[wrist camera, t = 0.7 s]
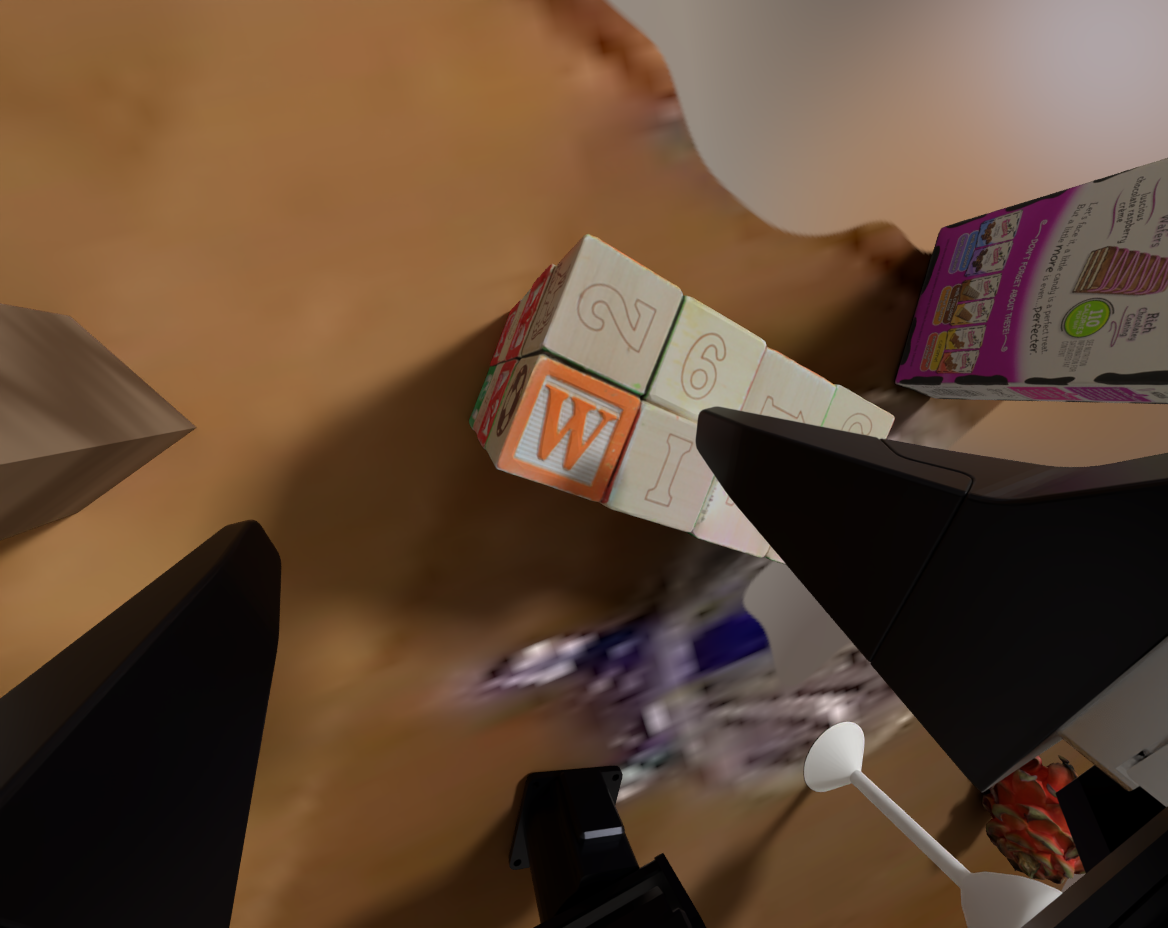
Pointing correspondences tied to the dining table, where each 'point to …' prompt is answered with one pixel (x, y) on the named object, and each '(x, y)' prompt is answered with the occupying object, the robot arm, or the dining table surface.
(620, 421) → the stack of blocks
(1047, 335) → the candy bar box
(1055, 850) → the dragon fruit
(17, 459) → the silver metal block
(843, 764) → the champagne flute
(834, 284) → the dining table surface
